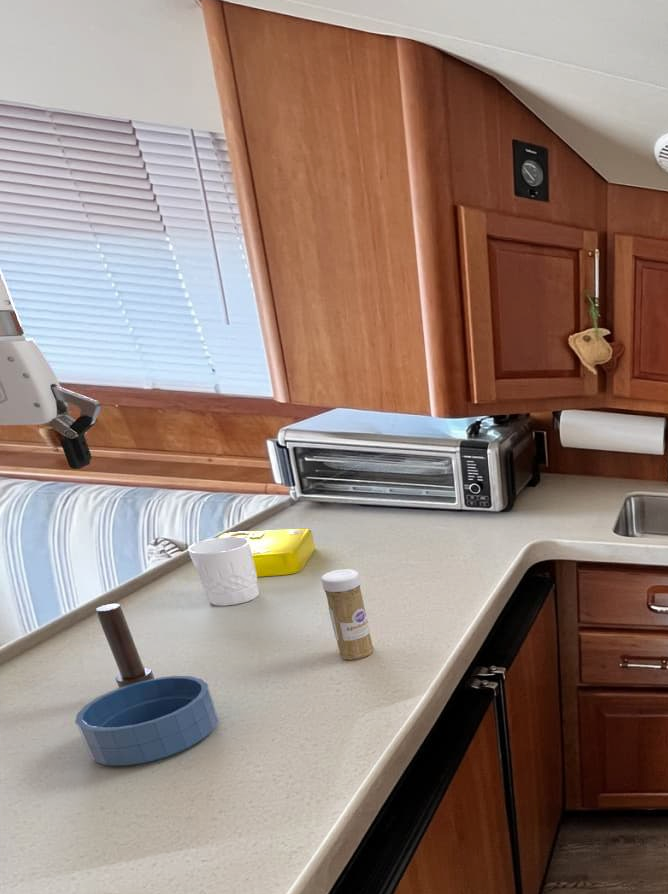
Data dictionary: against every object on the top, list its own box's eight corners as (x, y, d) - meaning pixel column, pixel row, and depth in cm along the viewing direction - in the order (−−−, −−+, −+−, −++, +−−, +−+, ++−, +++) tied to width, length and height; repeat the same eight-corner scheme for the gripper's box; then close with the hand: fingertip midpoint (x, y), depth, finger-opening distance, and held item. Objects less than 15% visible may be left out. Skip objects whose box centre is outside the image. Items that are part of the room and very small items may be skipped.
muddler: (117, 702, 83) (82, 614, 78) (130, 688, 86) (96, 603, 81) (151, 698, 85) (119, 611, 80) (163, 684, 87) (132, 600, 82)
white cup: (239, 585, 115) (224, 534, 111) (275, 592, 114) (261, 540, 110) (192, 603, 108) (174, 549, 104) (230, 610, 107) (214, 556, 103)
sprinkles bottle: (363, 661, 96) (346, 581, 91) (332, 660, 96) (313, 579, 91) (380, 646, 100) (365, 569, 95) (350, 645, 100) (333, 567, 95)
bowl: (71, 778, 71) (52, 738, 69) (120, 720, 80) (105, 683, 78) (200, 758, 75) (186, 719, 73) (232, 705, 85) (221, 669, 82)
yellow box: (198, 582, 115) (191, 557, 113) (227, 552, 128) (221, 530, 126) (300, 574, 121) (294, 551, 119) (318, 546, 134) (313, 525, 132)
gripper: (-167, 322, 68) (-93, 477, 75) (55, 332, 75) (105, 473, 81) (-111, 318, 74) (-47, 461, 81) (89, 327, 81) (133, 459, 88)
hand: (29, 467), depth 81 cm, fingers open, 9 cm apart
